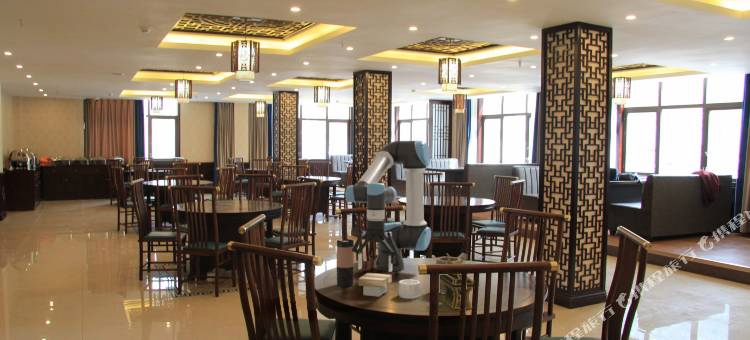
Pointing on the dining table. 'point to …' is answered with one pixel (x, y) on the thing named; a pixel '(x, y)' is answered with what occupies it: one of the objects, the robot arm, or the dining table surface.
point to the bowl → (409, 289)
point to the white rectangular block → (374, 291)
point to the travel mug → (345, 263)
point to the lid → (375, 280)
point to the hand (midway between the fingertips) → (375, 270)
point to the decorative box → (455, 288)
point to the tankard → (453, 259)
